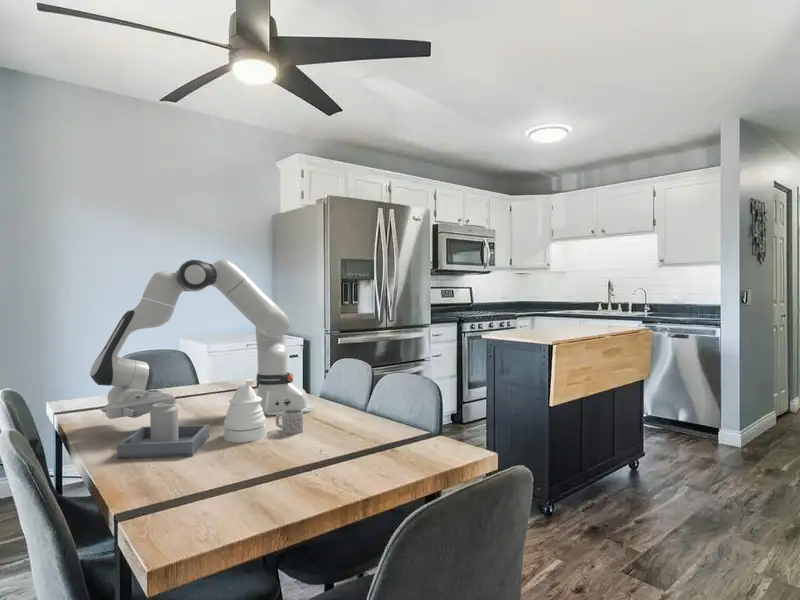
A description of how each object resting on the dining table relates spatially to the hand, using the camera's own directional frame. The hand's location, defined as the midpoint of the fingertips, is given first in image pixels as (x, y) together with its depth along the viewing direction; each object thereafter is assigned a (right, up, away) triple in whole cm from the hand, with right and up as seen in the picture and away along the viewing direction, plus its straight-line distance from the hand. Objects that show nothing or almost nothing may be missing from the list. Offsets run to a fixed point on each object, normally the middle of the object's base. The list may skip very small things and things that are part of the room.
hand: (150, 410), depth 159 cm
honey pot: (+29, -9, +3) cm, 30 cm away
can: (+8, -8, -8) cm, 14 cm away
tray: (+9, -9, -8) cm, 15 cm away
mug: (+41, -9, +9) cm, 43 cm away
